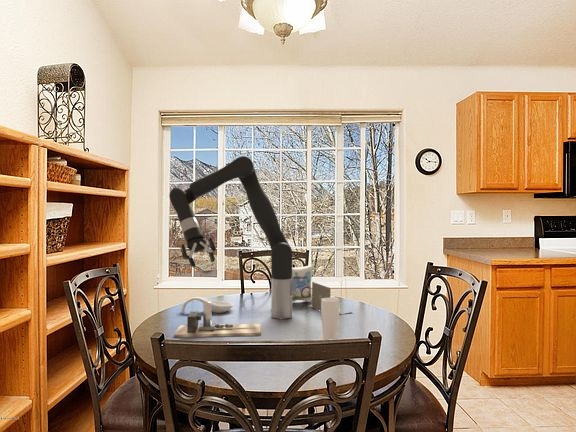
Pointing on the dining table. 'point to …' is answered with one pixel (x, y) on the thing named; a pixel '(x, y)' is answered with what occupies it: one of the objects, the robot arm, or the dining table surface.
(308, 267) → the pouch
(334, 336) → the drinking glass
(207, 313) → the chain handle
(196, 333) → the tensioner rail
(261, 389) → the dining table surface
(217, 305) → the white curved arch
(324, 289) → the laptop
